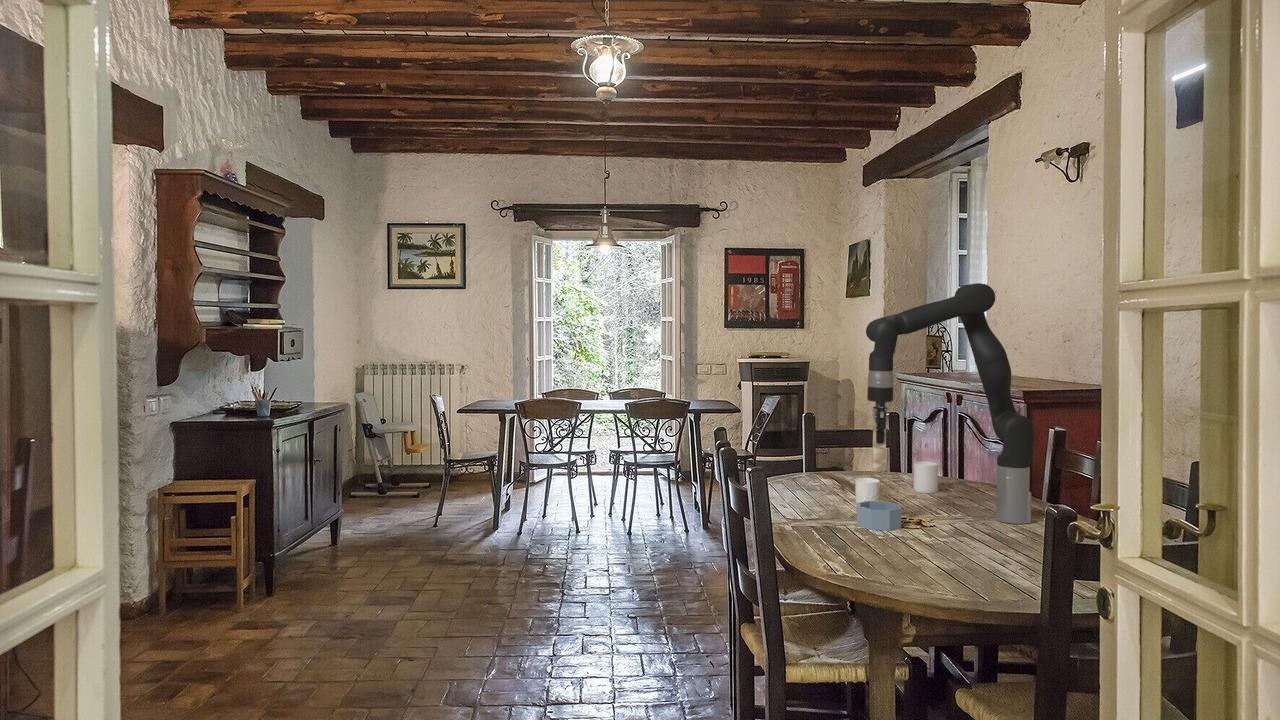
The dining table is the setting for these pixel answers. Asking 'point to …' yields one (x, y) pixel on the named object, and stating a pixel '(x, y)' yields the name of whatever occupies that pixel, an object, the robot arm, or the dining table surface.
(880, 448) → the tan square peg
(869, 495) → the white cup
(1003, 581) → the dining table surface
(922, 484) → the mug
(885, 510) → the blue octagonal holder
